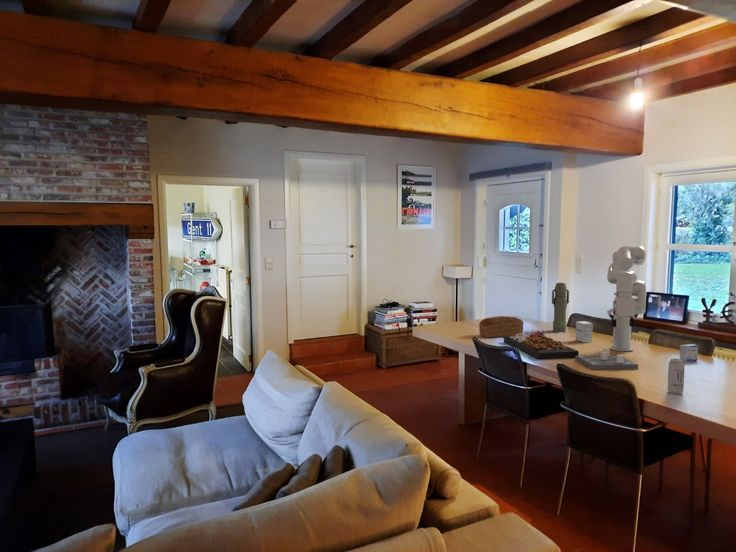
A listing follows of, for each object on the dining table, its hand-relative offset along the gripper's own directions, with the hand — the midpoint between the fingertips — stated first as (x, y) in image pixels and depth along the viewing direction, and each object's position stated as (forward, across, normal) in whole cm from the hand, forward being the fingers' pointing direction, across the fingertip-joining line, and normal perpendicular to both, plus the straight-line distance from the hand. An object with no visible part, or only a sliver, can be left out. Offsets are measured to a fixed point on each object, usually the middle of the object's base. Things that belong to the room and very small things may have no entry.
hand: (622, 326), depth 270 cm
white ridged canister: (+20, +7, +57) cm, 61 cm away
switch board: (+21, -8, 0) cm, 22 cm away
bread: (+21, -41, +79) cm, 91 cm away
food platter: (+21, -31, +37) cm, 53 cm away
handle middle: (+18, -10, 0) cm, 20 cm away
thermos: (+20, +5, +90) cm, 93 cm away
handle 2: (+18, -5, -7) cm, 20 cm away
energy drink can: (+21, -3, -49) cm, 53 cm away
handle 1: (+18, -5, +7) cm, 20 cm away
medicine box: (+21, +42, +6) cm, 47 cm away
